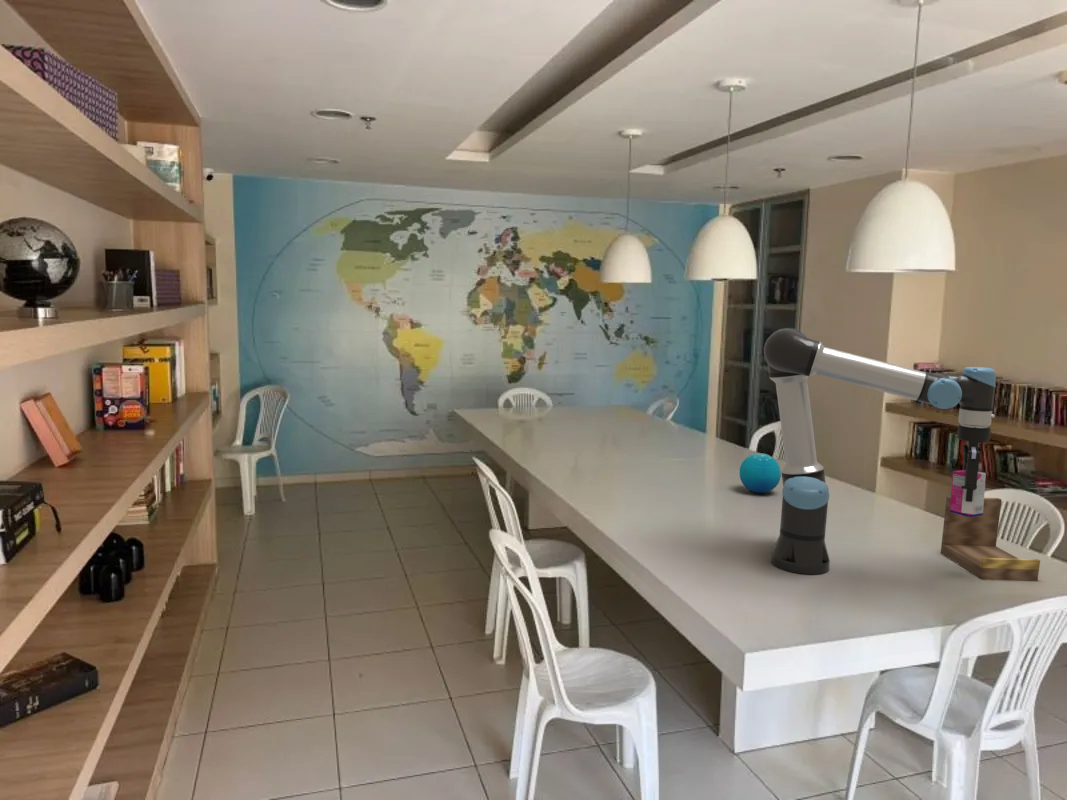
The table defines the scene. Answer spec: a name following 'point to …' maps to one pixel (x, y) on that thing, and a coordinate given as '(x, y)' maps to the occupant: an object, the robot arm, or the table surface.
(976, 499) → the supplement box
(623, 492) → the table surface
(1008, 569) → the display shelf
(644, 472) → the table surface
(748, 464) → the decorative orb
